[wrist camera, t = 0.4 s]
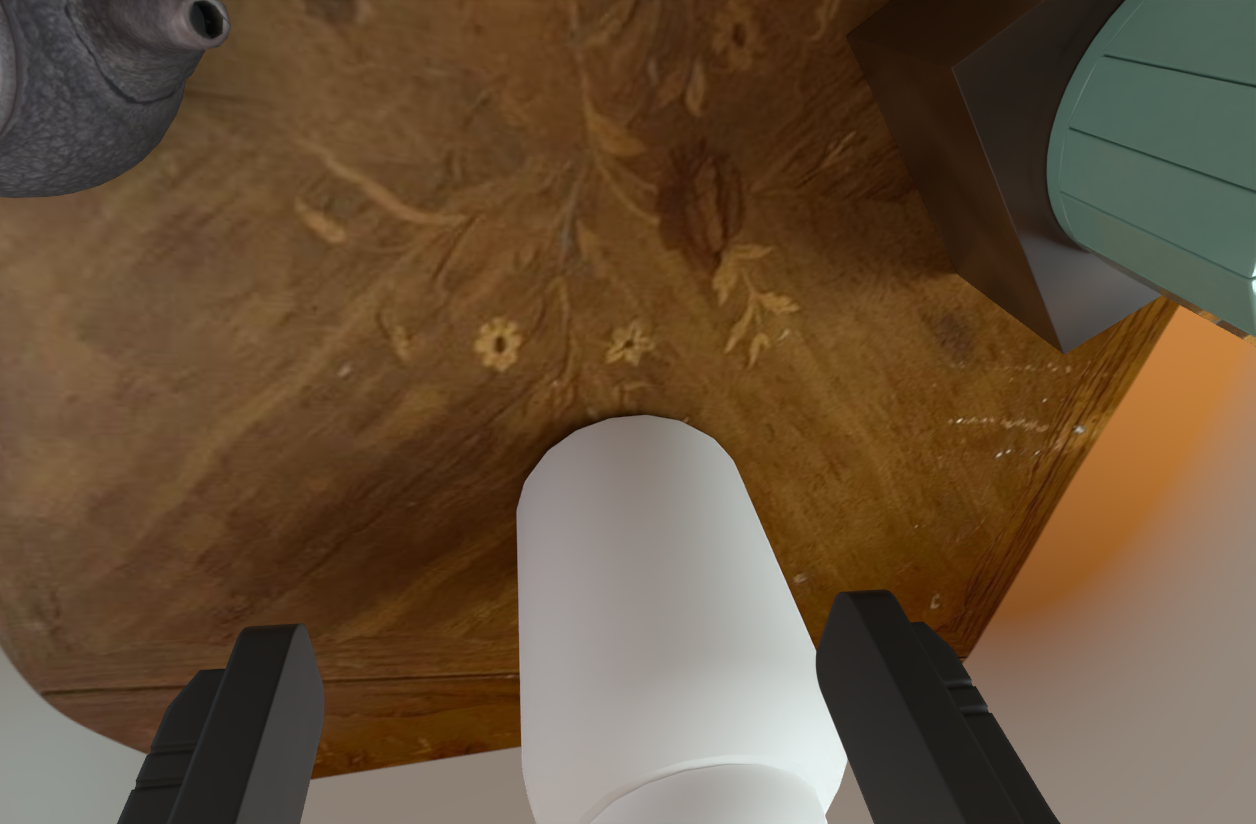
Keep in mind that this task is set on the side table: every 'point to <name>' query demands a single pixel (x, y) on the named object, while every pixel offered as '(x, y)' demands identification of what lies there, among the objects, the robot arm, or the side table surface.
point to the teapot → (93, 85)
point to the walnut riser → (995, 148)
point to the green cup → (1166, 154)
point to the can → (662, 641)
